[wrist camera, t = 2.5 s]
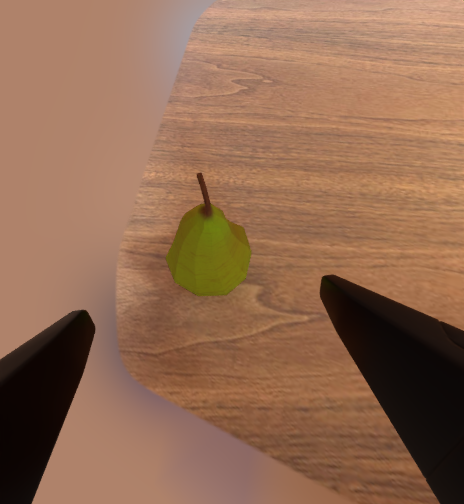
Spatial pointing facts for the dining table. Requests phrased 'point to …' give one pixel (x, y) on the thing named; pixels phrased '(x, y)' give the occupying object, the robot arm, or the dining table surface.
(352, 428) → the dining table surface
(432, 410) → the robot arm
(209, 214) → the fruit
